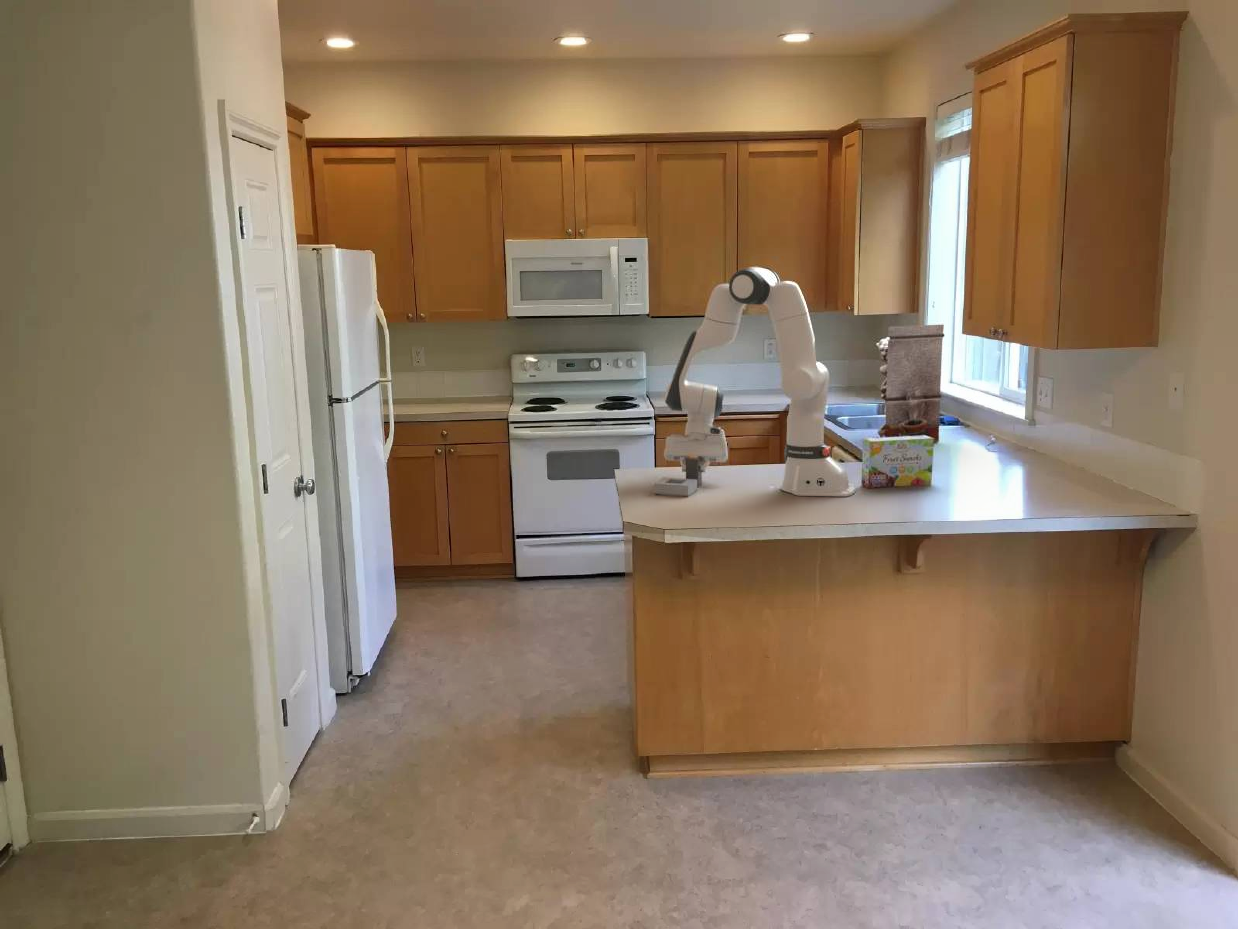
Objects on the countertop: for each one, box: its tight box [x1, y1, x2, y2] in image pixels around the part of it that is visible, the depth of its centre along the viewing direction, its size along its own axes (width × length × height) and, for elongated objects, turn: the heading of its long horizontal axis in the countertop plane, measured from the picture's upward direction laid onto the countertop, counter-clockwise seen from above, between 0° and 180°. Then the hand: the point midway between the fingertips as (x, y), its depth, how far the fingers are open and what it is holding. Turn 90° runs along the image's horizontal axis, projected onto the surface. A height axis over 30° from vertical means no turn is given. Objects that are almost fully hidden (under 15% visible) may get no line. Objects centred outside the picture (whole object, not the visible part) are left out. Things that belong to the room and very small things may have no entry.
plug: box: [685, 455, 703, 489], centre depth 298 cm, size 4×4×10 cm
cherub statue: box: [876, 324, 945, 443], centre depth 363 cm, size 23×19×45 cm
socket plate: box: [653, 477, 698, 498], centre depth 290 cm, size 11×9×4 cm
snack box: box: [860, 435, 935, 489], centre depth 292 cm, size 21×6×15 cm, turn 101°
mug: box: [885, 419, 927, 437], centre depth 324 cm, size 18×12×15 cm, turn 118°
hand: (693, 471), depth 297 cm, fingers closed on plug, 4 cm apart
